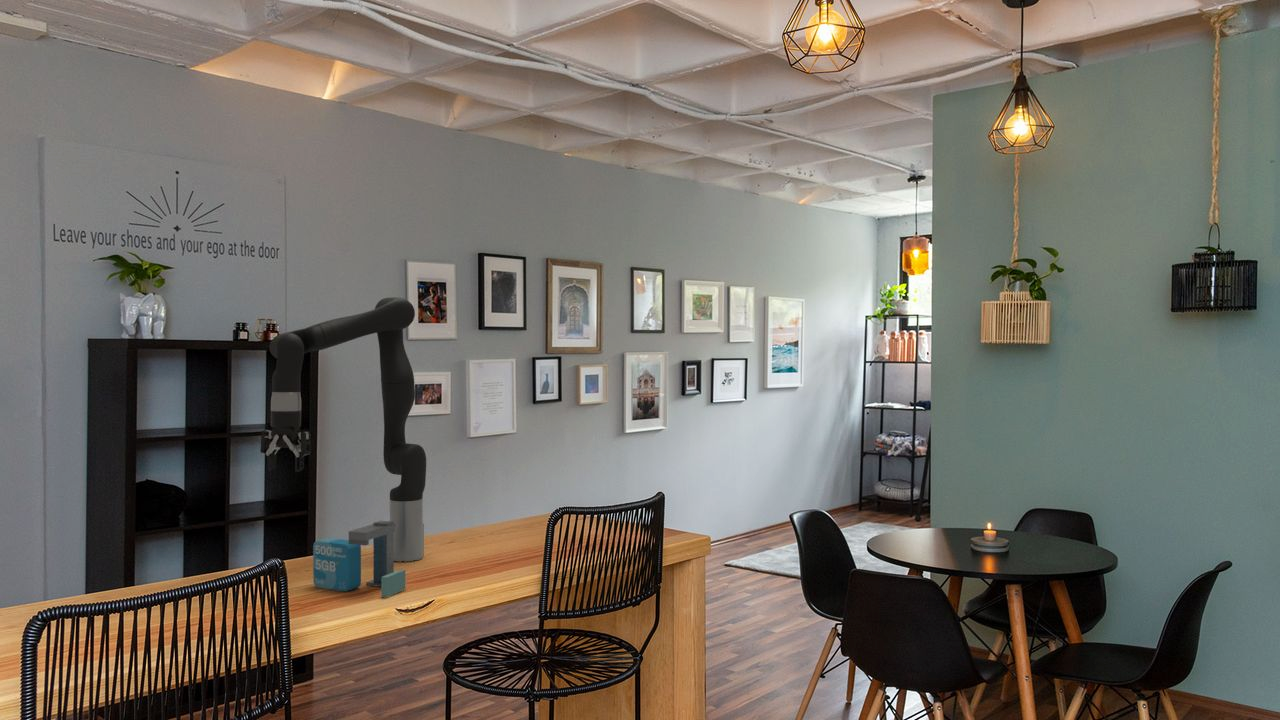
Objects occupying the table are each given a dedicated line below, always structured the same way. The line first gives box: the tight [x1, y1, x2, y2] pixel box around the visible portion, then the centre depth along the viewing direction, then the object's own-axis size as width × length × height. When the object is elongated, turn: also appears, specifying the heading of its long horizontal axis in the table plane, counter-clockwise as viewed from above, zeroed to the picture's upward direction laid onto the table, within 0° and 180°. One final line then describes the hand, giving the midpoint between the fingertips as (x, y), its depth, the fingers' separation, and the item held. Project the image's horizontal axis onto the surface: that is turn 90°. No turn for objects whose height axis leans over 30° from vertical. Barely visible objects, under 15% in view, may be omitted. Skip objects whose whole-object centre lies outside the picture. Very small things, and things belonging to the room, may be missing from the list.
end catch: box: [380, 569, 406, 598], centre depth 232 cm, size 8×2×5 cm, turn 161°
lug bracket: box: [348, 520, 395, 587], centre depth 237 cm, size 14×7×16 cm, turn 161°
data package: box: [312, 537, 362, 592], centre depth 237 cm, size 12×4×12 cm, turn 64°
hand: (285, 470), depth 247 cm, fingers open, 8 cm apart
